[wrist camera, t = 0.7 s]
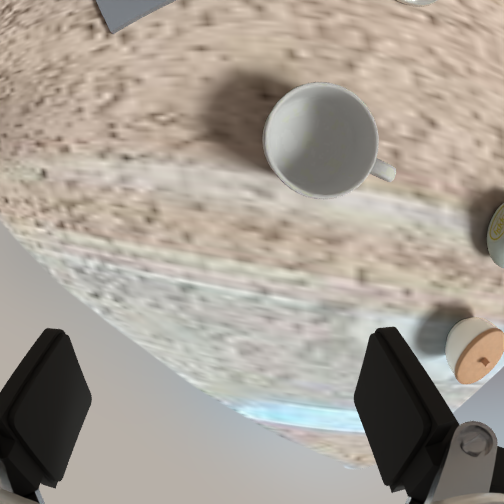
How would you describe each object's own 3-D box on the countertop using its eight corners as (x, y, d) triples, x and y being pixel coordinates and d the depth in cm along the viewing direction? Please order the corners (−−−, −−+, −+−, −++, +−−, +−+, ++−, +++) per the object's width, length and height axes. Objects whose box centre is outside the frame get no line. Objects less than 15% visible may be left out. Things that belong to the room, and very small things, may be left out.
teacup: (239, 152, 35) (241, 158, 27) (292, 73, 32) (307, 58, 24) (339, 216, 38) (364, 238, 30) (387, 143, 35) (422, 148, 27)
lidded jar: (452, 304, 44) (485, 336, 35) (490, 309, 45) (521, 336, 37) (426, 358, 48) (450, 393, 39) (465, 357, 49) (489, 388, 40)
